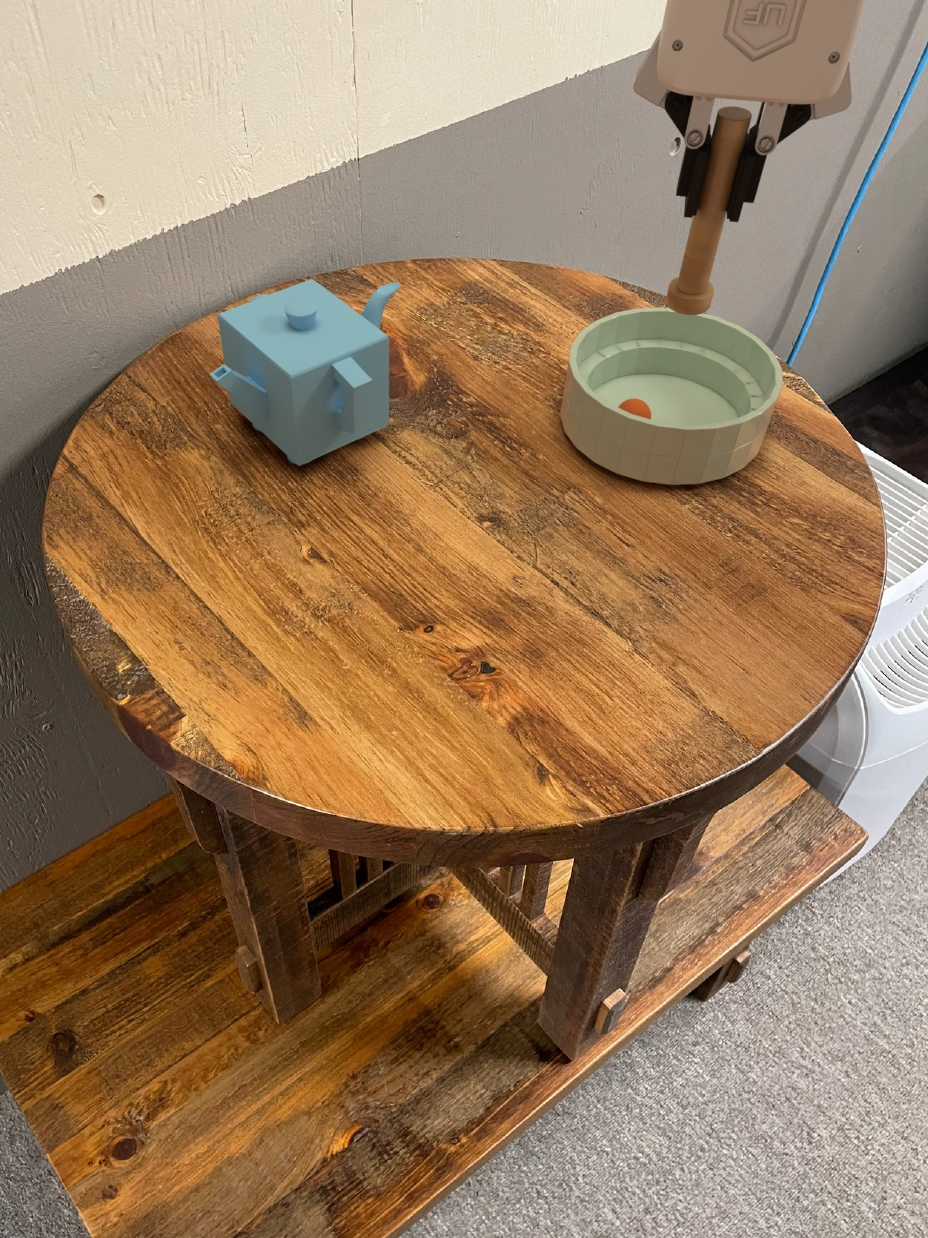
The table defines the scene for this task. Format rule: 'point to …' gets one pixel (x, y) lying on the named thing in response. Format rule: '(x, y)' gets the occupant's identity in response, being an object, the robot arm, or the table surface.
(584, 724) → the table surface
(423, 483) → the table surface
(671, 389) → the bowl
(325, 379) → the teapot
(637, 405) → the ball
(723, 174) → the rod
